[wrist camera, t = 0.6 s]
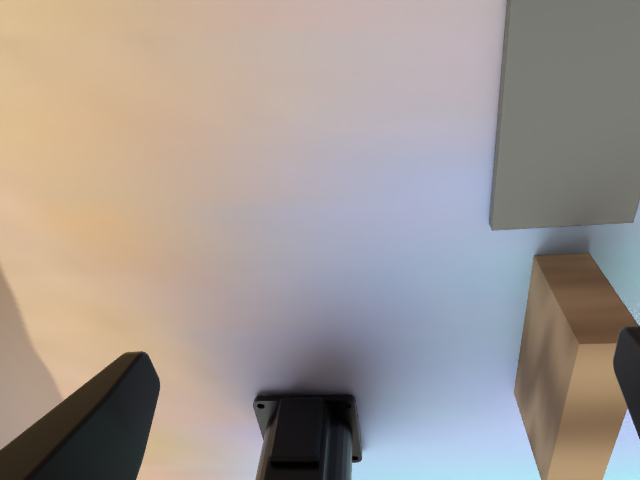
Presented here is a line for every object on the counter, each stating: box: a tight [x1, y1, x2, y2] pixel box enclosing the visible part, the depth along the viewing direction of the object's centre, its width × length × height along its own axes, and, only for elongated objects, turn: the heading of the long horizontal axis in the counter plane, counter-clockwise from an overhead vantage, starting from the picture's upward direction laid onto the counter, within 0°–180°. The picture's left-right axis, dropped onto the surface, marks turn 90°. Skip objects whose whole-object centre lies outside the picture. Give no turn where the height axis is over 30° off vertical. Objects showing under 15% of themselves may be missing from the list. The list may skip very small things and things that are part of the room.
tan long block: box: [514, 253, 639, 480], centre depth 23 cm, size 10×2×6 cm, turn 7°
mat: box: [489, 0, 640, 230], centre depth 18 cm, size 12×6×1 cm, turn 7°
